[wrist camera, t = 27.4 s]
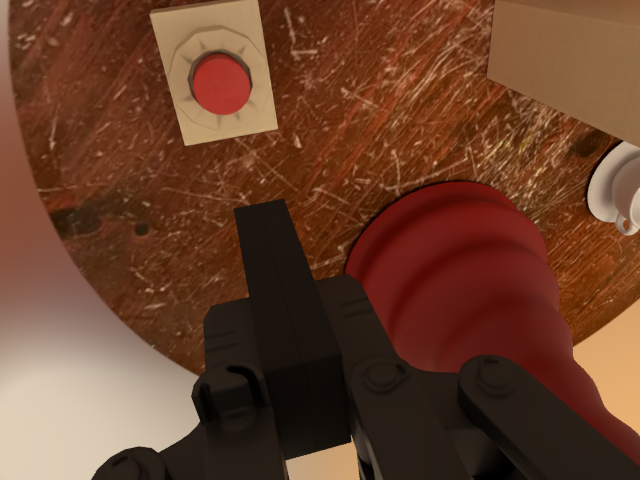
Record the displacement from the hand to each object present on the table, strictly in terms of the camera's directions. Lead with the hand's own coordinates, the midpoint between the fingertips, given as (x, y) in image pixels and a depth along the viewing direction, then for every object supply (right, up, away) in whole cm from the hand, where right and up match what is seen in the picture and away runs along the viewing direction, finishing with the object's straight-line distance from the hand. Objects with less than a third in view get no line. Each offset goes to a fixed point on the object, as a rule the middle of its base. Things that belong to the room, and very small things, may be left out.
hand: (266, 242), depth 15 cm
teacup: (+33, +7, +36) cm, 49 cm away
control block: (-6, +13, +21) cm, 25 cm away
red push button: (-5, +11, +18) cm, 22 cm away
